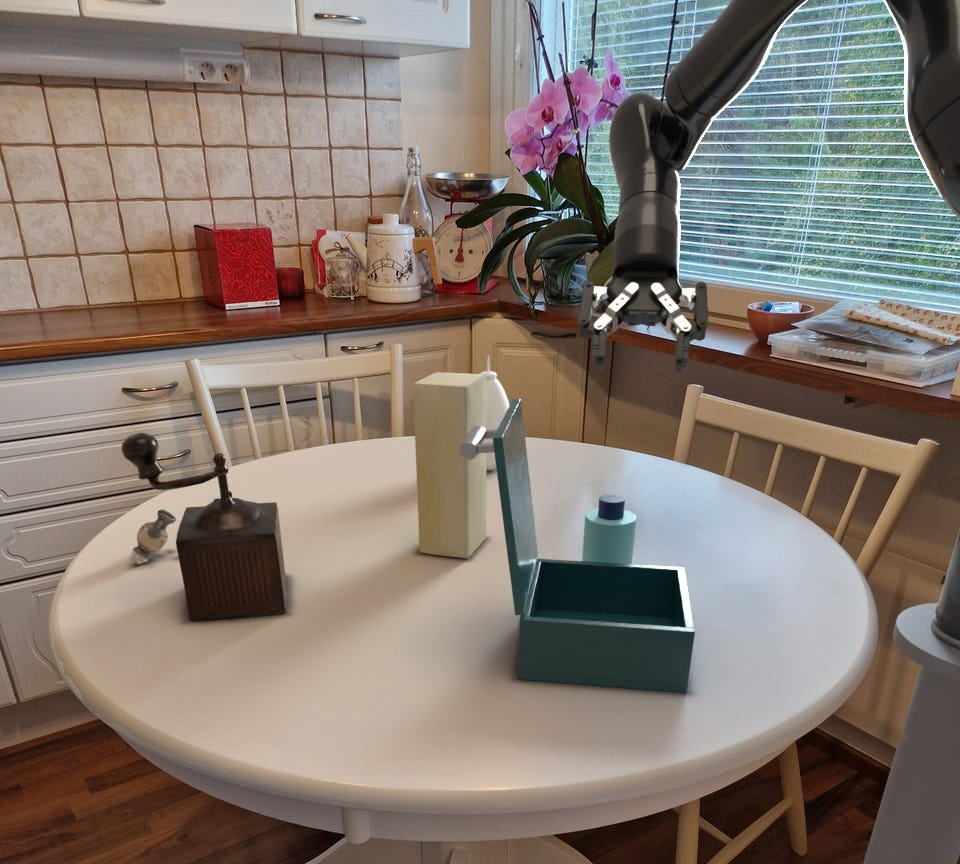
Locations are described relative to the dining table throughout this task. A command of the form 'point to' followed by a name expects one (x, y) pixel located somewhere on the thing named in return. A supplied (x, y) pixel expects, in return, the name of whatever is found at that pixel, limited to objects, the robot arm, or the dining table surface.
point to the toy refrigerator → (449, 463)
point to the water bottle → (609, 532)
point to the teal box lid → (511, 495)
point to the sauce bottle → (493, 408)
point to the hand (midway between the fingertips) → (639, 366)
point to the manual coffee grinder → (221, 544)
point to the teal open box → (607, 625)
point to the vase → (152, 537)
